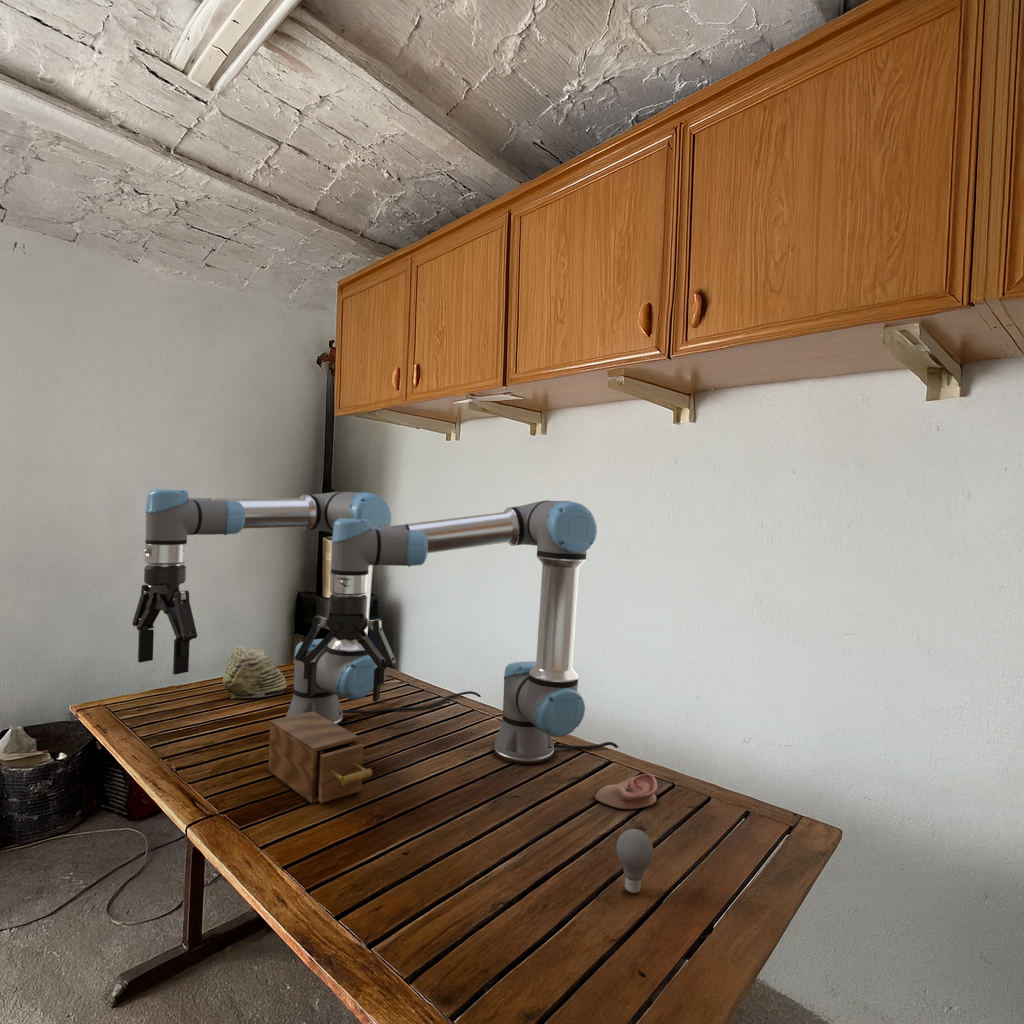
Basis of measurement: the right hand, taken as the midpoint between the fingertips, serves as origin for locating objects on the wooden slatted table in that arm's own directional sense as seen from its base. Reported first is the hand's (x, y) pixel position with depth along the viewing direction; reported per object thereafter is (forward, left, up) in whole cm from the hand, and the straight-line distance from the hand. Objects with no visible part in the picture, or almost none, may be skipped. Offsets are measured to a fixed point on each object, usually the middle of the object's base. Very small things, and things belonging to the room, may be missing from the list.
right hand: (343, 697), depth 130 cm
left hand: (+35, -16, +4) cm, 38 cm away
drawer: (+2, -8, -21) cm, 23 cm away
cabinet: (+4, -14, -22) cm, 27 cm away
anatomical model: (-59, +15, -22) cm, 65 cm away
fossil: (+15, -80, -22) cm, 84 cm away
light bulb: (-42, +44, -22) cm, 65 cm away
